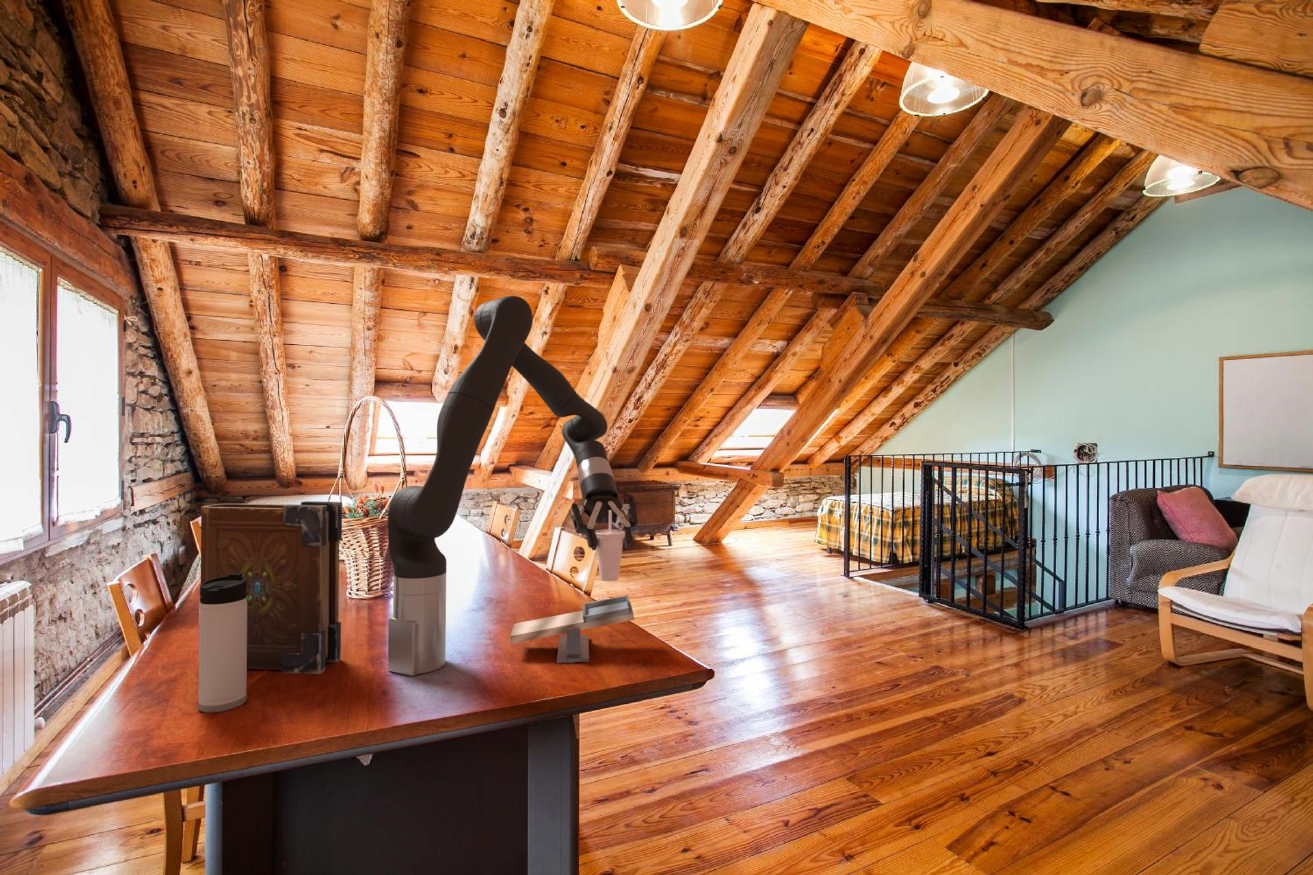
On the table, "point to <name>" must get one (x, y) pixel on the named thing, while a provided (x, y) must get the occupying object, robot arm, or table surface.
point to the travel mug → (222, 643)
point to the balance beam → (575, 619)
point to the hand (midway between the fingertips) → (611, 546)
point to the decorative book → (281, 578)
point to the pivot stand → (573, 647)
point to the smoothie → (609, 551)
